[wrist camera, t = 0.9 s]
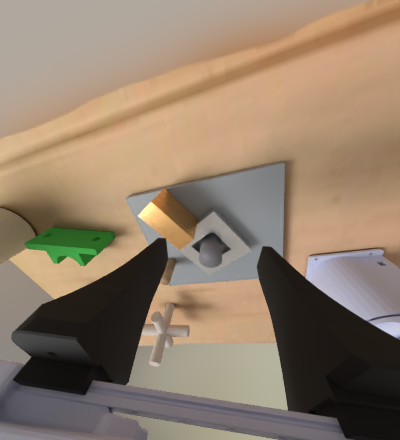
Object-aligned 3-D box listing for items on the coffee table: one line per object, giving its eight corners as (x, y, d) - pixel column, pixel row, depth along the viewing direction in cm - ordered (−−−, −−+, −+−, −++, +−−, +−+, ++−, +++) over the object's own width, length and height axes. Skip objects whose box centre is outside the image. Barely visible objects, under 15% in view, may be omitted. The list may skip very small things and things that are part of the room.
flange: (250, 245, 22) (257, 269, 18) (209, 269, 25) (207, 294, 21) (179, 172, 17) (169, 182, 13) (141, 212, 21) (124, 230, 17)
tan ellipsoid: (174, 257, 25) (167, 276, 21) (177, 264, 25) (171, 284, 22) (165, 258, 25) (157, 277, 21) (168, 265, 26) (161, 285, 22)
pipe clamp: (62, 243, 28) (36, 261, 24) (53, 226, 26) (23, 243, 22) (119, 249, 27) (102, 268, 23) (114, 231, 25) (94, 249, 21)
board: (280, 161, 17) (302, 169, 13) (279, 270, 25) (292, 298, 21) (129, 195, 21) (107, 210, 17) (171, 280, 29) (163, 305, 25)
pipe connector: (155, 317, 37) (136, 373, 28) (142, 291, 32) (115, 348, 23) (195, 318, 35) (188, 377, 26) (188, 291, 30) (176, 352, 22)
